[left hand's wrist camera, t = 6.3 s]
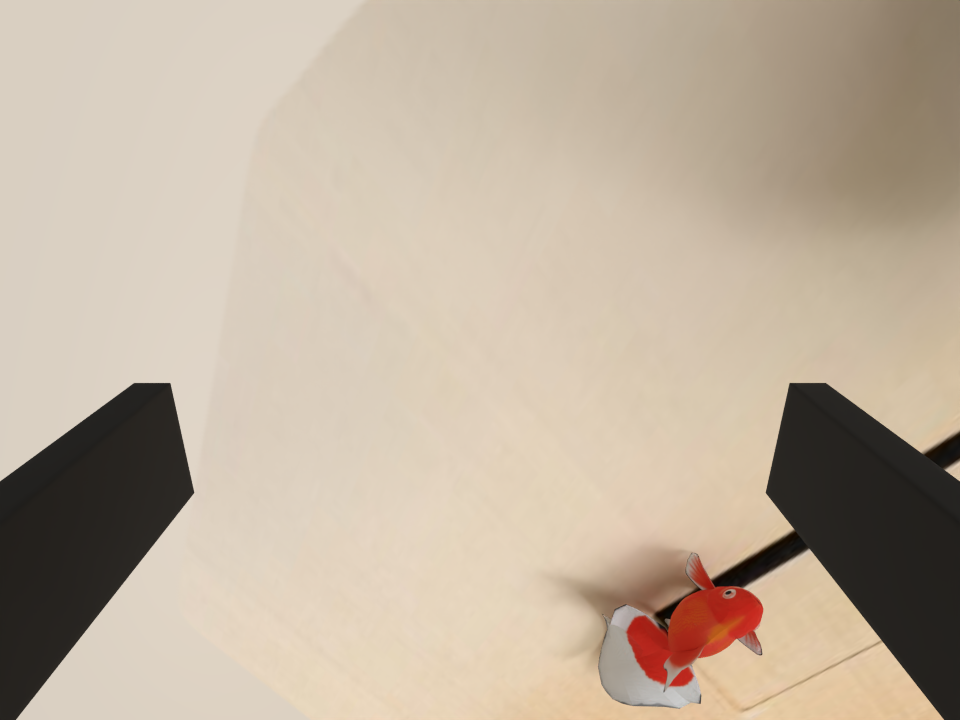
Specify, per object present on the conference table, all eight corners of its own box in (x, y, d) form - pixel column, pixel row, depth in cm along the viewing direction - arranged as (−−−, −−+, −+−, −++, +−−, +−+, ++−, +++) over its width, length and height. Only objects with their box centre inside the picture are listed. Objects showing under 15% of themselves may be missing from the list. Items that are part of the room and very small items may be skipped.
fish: (814, 659, 45) (804, 766, 37) (635, 664, 54) (596, 751, 46) (755, 535, 45) (732, 616, 37) (586, 562, 54) (538, 631, 46)
